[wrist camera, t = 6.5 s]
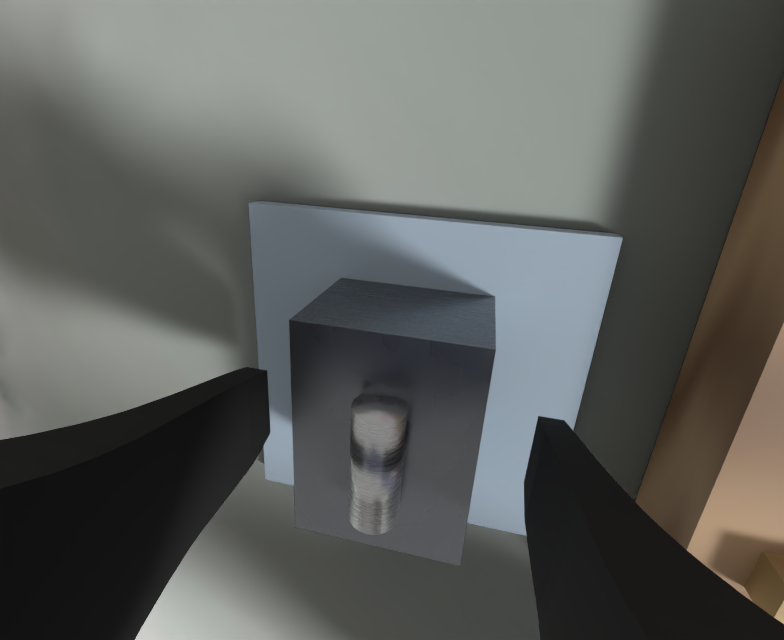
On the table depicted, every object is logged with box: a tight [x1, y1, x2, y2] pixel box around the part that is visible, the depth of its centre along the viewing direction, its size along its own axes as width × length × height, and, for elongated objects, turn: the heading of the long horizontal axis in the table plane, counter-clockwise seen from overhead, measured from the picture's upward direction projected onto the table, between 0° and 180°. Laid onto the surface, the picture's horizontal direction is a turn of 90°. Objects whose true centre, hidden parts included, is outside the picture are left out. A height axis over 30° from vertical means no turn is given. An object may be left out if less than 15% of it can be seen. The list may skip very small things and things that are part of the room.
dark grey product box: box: [289, 278, 496, 566], centre depth 11 cm, size 6×4×4 cm
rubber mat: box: [248, 201, 623, 536], centre depth 14 cm, size 10×10×1 cm
